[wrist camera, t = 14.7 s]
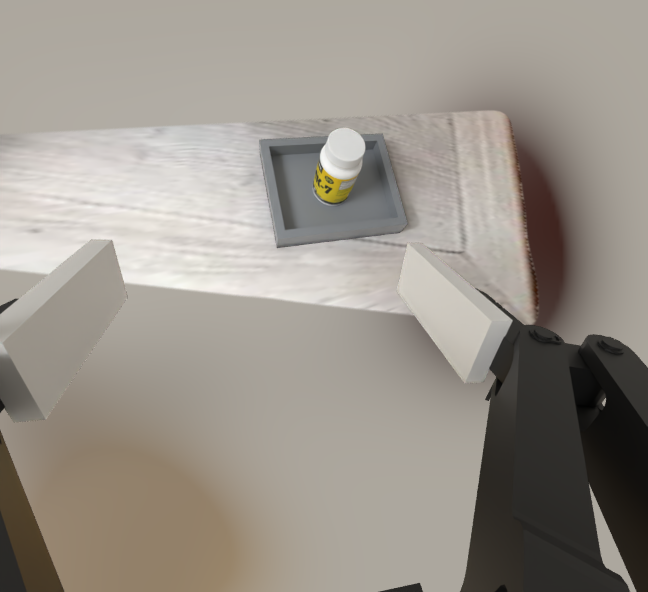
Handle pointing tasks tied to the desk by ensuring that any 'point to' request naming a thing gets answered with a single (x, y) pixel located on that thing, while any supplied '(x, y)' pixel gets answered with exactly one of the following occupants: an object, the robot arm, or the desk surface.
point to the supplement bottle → (338, 166)
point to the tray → (312, 215)
